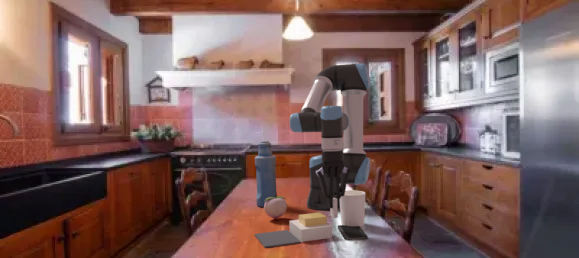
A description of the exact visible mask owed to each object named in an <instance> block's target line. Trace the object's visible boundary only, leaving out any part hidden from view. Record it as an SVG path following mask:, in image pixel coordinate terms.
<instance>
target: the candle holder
mask: <svg viewBox="0 0 579 258" xmlns="http://www.w3.org/2000/svg"><path fill="white" fill-rule="evenodd" d="M339 200H340V207H339V211H340V219H341V220H340V222H341V225H346V226H360V227H361V228H362V227H364V225H365V212H366V209H365V208H366V192H365V191H361V190H354V189H353V190H349V189H348V190H345V195H344V196H342V197H341V198H340V199H339Z"/></svg>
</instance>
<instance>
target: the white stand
mask: <svg viewBox="0 0 579 258" xmlns="http://www.w3.org/2000/svg"><path fill="white" fill-rule="evenodd" d="M332 226H333V225H331V224H329V223H328V222H327V224H321V225H313V226H304V225H302V224H301V223H300V222H299V219H292V220H289V232H291V233H292V234H293V235H294V236H295V237H296V238H297V239H299V240H300V241H301V243H302V242H303V243H304V242H309V241H318V240H324V239H332V238H333V227H332Z"/></svg>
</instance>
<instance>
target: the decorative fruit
mask: <svg viewBox="0 0 579 258" xmlns="http://www.w3.org/2000/svg"><path fill="white" fill-rule="evenodd" d="M266 200H267V201H266ZM266 200H265V201H266V202H265V204H264V207H263V209H264V212H265V214H266V215H267V216H268V217H270V218H272V219H274V220H277V219H279V218H281V217H283V216H284V215H285V214H286V212H287V208H288V204H287V202H286V200H287V199H286V197H284V196H281V195H280V196H278V195H277V197H276V194H275V198H274V197H269V198H267V199H266Z"/></svg>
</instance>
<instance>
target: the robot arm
mask: <svg viewBox="0 0 579 258" xmlns="http://www.w3.org/2000/svg"><path fill="white" fill-rule="evenodd" d="M370 89H371V79H370V74H369V69H368V66H367V65H366V64H365V63H349V64H334V65H330V66H328V67H325V68H323V69H322V70H320V71H319V72H318V73H317V74H316V75H315V76H314V78H313V80H312V81H311V88H310V91H309V93H308V95H307V97H306V99H305V101H304V103H303V105H302V107H301V110H300V111H299V112H295V113H294V112H293V113H291V115H290V116H289V128H290V130H291V131H292V133H301V134H302V133H321V149H322V151H321V154H320V155H315V156H312V157H311V158H310V159H309V167H308V168H309V192H308V196H307V199H306V207H307V208H308V209H312V210H318V211H319V210H324V211H325V210H330V211H329V212H330V217H332V218H333V219H337V218H338V217H339V216H338V215H339V214H338V209H339V208H340V200H339V199H340V198H341V197H342V196H344V195H345V191H347V190H346V188H347V185H364V184H366V183H367V181H368V179H369V175H370V169H371V159H370V157H368V156H367V153H366V151H365V150H364V97H365V96H366V95H367V93H368V92H367V90H370ZM332 91H333V92H334V91H340V94H341V96H343V107H342V106H340V105H325V106H324V104H325V102H326V99H327V97H328V95H330V94H331V92H332Z"/></svg>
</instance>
